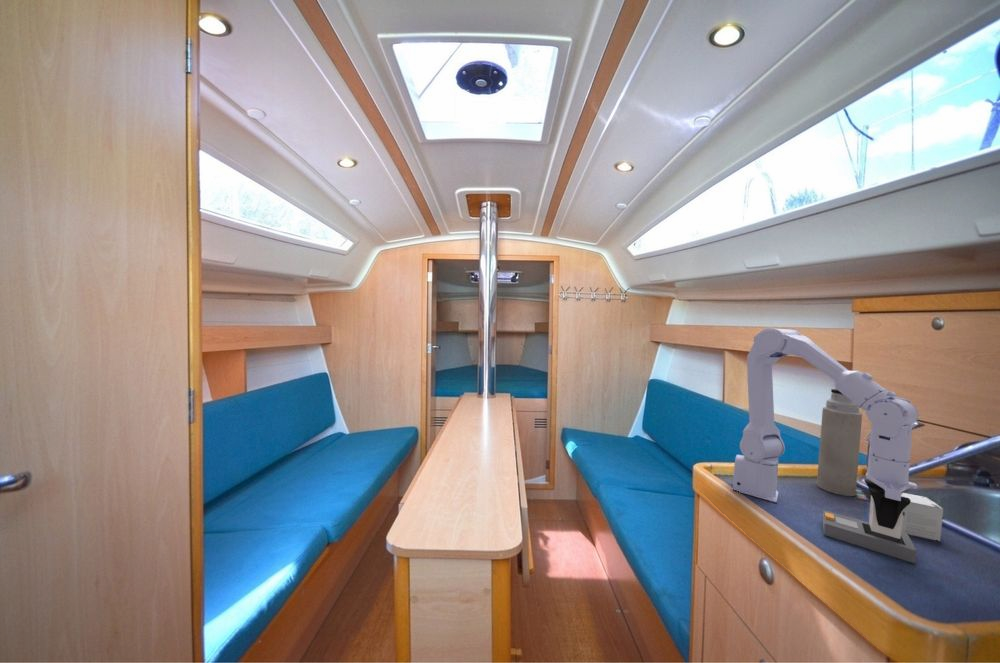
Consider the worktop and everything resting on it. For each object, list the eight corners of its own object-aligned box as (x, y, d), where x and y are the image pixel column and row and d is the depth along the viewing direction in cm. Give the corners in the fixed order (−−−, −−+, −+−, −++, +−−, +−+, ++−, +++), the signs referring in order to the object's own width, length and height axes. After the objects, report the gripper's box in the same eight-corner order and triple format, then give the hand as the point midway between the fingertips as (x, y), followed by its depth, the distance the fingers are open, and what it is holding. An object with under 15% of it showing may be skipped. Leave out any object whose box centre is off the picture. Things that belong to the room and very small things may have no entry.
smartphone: (849, 490, 102) (849, 485, 102) (928, 507, 93) (928, 502, 93) (857, 501, 95) (857, 496, 95) (942, 520, 87) (943, 515, 87)
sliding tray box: (823, 534, 77) (824, 520, 77) (822, 520, 83) (823, 507, 83) (915, 563, 68) (916, 547, 68) (906, 545, 75) (907, 530, 74)
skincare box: (887, 520, 85) (889, 489, 84) (923, 528, 82) (926, 496, 82) (902, 533, 79) (905, 500, 79) (941, 542, 76) (944, 508, 76)
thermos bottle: (836, 483, 104) (844, 388, 104) (864, 497, 96) (872, 393, 96) (809, 482, 104) (816, 386, 104) (834, 495, 97) (842, 392, 96)
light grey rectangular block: (871, 530, 74) (874, 496, 73) (868, 523, 77) (871, 489, 76) (900, 539, 71) (903, 503, 71) (896, 530, 74) (899, 496, 74)
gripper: (927, 473, 65) (921, 546, 66) (910, 453, 76) (905, 516, 77) (872, 462, 70) (867, 530, 70) (863, 445, 81) (858, 504, 81)
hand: (883, 522), depth 74 cm, fingers closed on light grey rectangular block, 4 cm apart
